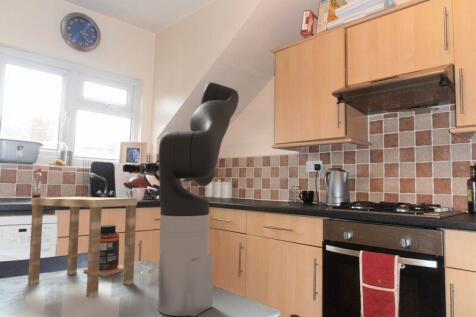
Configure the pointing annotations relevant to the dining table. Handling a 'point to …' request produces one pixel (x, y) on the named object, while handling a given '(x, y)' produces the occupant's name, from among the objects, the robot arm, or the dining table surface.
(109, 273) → the coaster
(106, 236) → the supplement bottle
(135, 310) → the dining table surface
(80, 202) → the small wooden table
